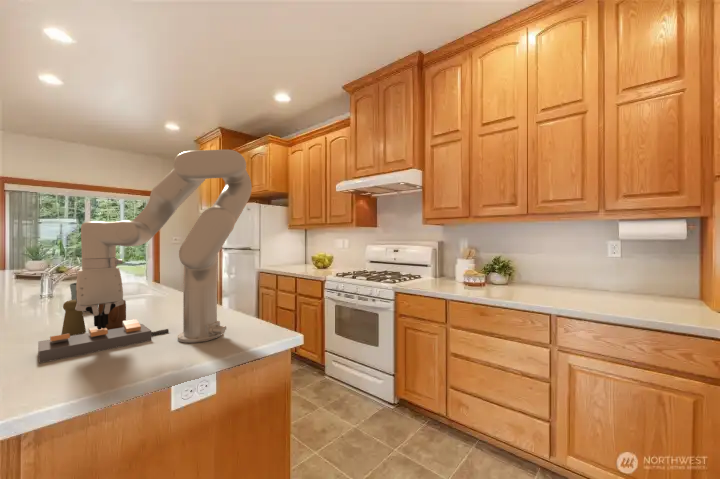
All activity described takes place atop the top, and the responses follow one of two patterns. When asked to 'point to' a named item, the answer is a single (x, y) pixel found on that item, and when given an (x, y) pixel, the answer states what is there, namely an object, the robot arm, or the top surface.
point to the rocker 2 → (131, 325)
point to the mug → (115, 316)
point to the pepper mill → (73, 319)
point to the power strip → (93, 343)
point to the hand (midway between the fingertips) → (101, 327)
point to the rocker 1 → (59, 338)
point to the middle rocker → (97, 331)
